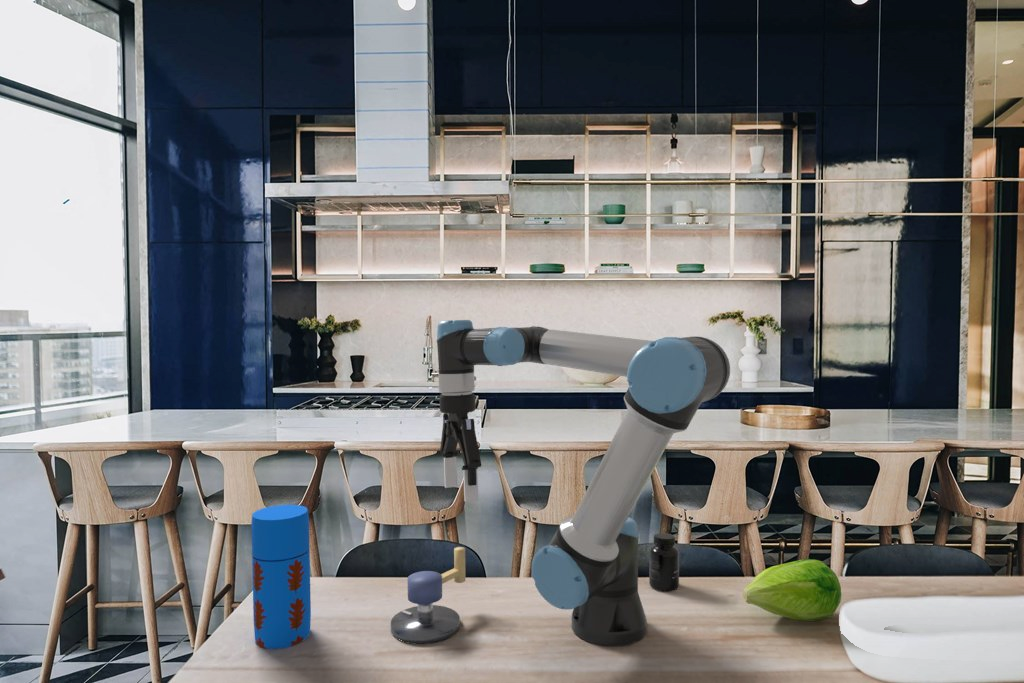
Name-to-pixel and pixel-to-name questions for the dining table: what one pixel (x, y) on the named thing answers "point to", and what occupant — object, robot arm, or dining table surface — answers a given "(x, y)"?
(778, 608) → the lettuce
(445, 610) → the post base
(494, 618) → the dining table surface
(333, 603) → the dining table surface
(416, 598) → the blue crank handle
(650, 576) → the supplement bottle
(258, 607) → the thermos
